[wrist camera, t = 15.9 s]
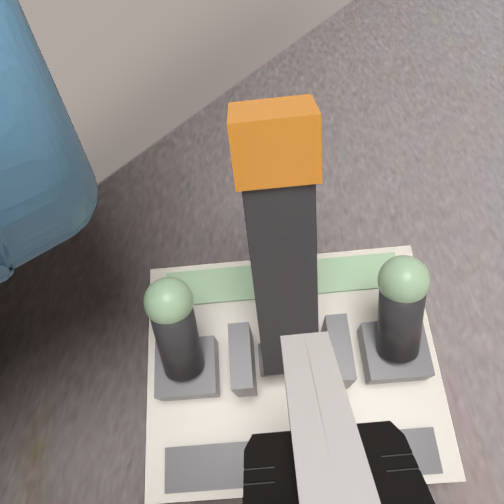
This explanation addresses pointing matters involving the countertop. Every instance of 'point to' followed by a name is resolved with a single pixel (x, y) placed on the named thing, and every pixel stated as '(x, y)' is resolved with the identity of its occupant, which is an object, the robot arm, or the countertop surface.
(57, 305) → the countertop surface
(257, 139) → the breaker lever
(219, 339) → the lever control panel
